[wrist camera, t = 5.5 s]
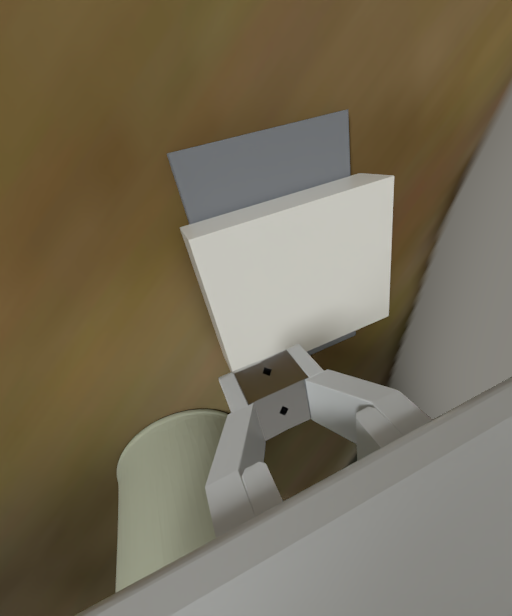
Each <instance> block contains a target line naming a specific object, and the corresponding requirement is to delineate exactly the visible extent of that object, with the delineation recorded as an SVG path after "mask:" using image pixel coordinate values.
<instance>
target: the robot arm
mask: <svg viewBox="0 0 512 616" xmlns="http://www.w3.org/2000/svg"><path fill="white" fill-rule="evenodd" d="M218 378H219V382H220V385H221V387H222V390H223V393H224V395H225V398H226V400H227V403H228V406H229V408H230V411H231V413H230V414H228V415H227V418H226V421H225V424H224V428H223V431H222V434H221V437H220V440H219V444H218V447H217V450H216V453H215V456H214V460H213V463H212V466H211V469H210V472H209V476H208V479H207V482H206V485H205V490H206V495H207V499H208V504H209V509H210V513H211V518H212V523H213V527H214V532H215V536H216V538H215V539H213V540H212V541H210V542H208V543H206V544H204V545H202V546H201V547H199V548H197V549H195V550H193V551H191V552H190V553H188V554H186V555H184V556H182V557H180V558H179V559H177V560H175V561H173V562H171V563H169V564H168V565H166V566H164V567H162V568H160V569H158V570H157V571H155V572H153V573H151V574H149V575H147V576H146V577H144V578H142V579H140V580H138V581H136V582H135V583H133V584H131V585H129V586H127V587H125V588H124V589H122V590H120V591H118V592H116V593H114V594H113V595H111V596H109V597H107V598H105V599H103V600H102V601H100V602H98V603H96V604H94V605H92V606H91V607H89V608H87V609H85V610H83V611H81V612H80V613H78V614H76V615H74V616H512V377H510V378H508V379H507V380H505V381H503V382H501V383H499V384H497V385H496V386H494V387H492V388H490V389H488V390H487V391H485V392H483V393H481V394H479V395H477V396H475V397H474V398H472V399H470V400H468V401H466V402H464V403H463V404H461V405H459V406H457V407H455V408H453V409H452V410H450V411H448V412H446V413H444V414H442V415H441V416H439V417H437V418H435V419H433V420H432V419H431V418H430V417H429V416H428V415H427V414H425V413H424V412H423V411H422V410H421V409H420V408H419V407H417V406H416V405H415V404H414V403H413V402H412V401H411V400H409V399H408V398H407V397H406V396H405V395H404V394H402V393H401V392H400V391H399V390H396V389H393V388H389V387H386V386H383V385H379V384H376V383H373V382H369V381H366V380H362V379H359V378H356V377H352V376H349V375H346V374H342V373H339V372H336V371H332V370H329V369H327V370H325V371H324V370H323V369H322V368H321V367H320V366H319V365H318V364H317V363H316V362H315V361H314V359H313V358H312V357H311V356H310V355H309V354H308V353H307V352H306V351H305V350H304V349H303V347H302V346H301V345H299V344H296V345H294V346H292V347H289V348H287V349H285V350H283V351H281V352H278V353H276V354H274V355H272V356H269V357H267V358H265V359H262V360H260V361H258V362H255V363H253V364H250V365H248V366H245V367H243V368H240V369H238V370H235V371H233V372H231V373H228V374H226V375H223V376H221V377H218ZM309 419H312V420H313V421H315V422H317V423H318V424H320V425H322V426H324V427H326V428H328V429H330V430H331V431H333V432H335V433H337V434H339V435H341V436H343V437H344V438H346V439H348V440H350V441H352V442H354V443H355V444H357V461H356V462H355V463H353V464H351V465H349V466H347V467H345V468H344V469H342V470H340V471H338V472H336V473H334V474H333V475H331V476H329V477H327V478H325V479H323V480H322V481H320V482H318V483H316V484H314V485H312V486H311V487H309V488H307V489H305V490H303V491H301V492H300V493H298V494H296V495H294V496H292V497H290V498H289V499H287V500H285V501H283V500H282V498H281V496H280V494H279V491H278V489H277V487H276V485H275V483H274V480H273V478H272V476H271V474H270V471H269V469H268V467H267V465H266V463H264V454H265V445H266V442H265V441H266V440H268V439H270V438H272V437H274V436H276V435H278V434H280V433H282V432H284V431H285V430H287V429H290V428H292V427H294V426H296V425H298V424H301V423H303V422H305V421H307V420H309Z"/></svg>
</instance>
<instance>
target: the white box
mask: <svg viewBox="0 0 512 616" xmlns="http://www.w3.org/2000/svg"><path fill="white" fill-rule="evenodd" d="M393 194H394V176H393V175H378V174H363V173H359V174H355V175H352V176H349V177H345V178H342V179H339V180H335V181H332V182H329V183H325V184H322V185H319V186H316V187H312V188H309V189H306V190H302V191H299V192H296V193H292V194H289V195H286V196H282V197H279V198H276V199H272V200H269V201H266V202H263V203H259V204H256V205H253V206H249V207H246V208H243V209H239V210H236V211H233V212H229V213H226V214H223V215H219V216H216V217H213V218H209V219H206V220H203V221H200V222H196V223H193V224H190V225H186V226H183V227H180V230H181V233H182V236H183V239H184V242H185V245H186V248H187V251H188V254H189V256H190V259H191V262H192V265H193V268H194V271H195V274H196V277H197V280H198V283H199V285H200V288H201V291H202V294H203V297H204V300H205V303H206V306H207V309H208V312H209V315H210V317H211V320H212V323H213V326H214V329H215V332H216V335H217V338H218V341H219V344H220V347H221V349H222V352H223V355H224V358H225V360H226V362H227V364H228V366H229V368H230V370H231V372H233V371H235V370H238V369H240V368H243V367H245V366H248V365H250V364H253V363H255V362H258V361H260V360H262V359H265V358H267V357H269V356H272V355H274V354H276V353H278V352H281V351H283V350H285V349H287V348H289V347H292V346H294V345H296V344H299V345H301V346H302V347H303V349H304V350H305V351H306V352H307V351H309V350H312V349H314V348H316V347H319V346H321V345H323V344H326V343H328V342H330V341H332V340H335V339H337V338H339V337H342V336H344V335H346V334H349V333H351V332H353V331H355V330H358V329H360V328H362V327H365V326H367V325H369V324H372V323H374V322H376V321H378V320H381V319H383V318H385V317H388V316H389V296H390V270H391V245H392V219H393Z"/></svg>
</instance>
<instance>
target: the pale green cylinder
mask: <svg viewBox="0 0 512 616" xmlns="http://www.w3.org/2000/svg"><path fill="white" fill-rule="evenodd" d="M227 415H228V414H227V413H224V412H221V411H217V410H211V409H195V410H187V411H182V412H179V413H175V414H172V415H169V416H167V417H164V418H162V419H160V420H158V421H156V422H154V423H152V424H151V425H149V426H148V427H146V428H145V429H143V430H142V431H141V432H140V433H138V434H137V435H136V436H135V437H134V438H133V439H132V440H131V441H130V442H129V444H128V445H127V446H126V448H125V449H124V451H123V452H122V454H121V456H120V459H119V462H118V466H117V480H118V484H119V503H118V539H117V565H116V592H118V591H120V590H122V589H124V588H125V587H127V586H129V585H131V584H133V583H135V582H136V581H138V580H140V579H142V578H144V577H146V576H147V575H149V574H151V573H153V572H155V571H157V570H158V569H160V568H162V567H164V566H166V565H168V564H169V563H171V562H173V561H175V560H177V559H179V558H180V557H182V556H184V555H186V554H188V553H190V552H191V551H193V550H195V549H197V548H199V547H201V546H202V545H204V544H206V543H208V542H210V541H212V540H213V539H215V538H216V536H215V532H214V527H213V523H212V518H211V513H210V509H209V504H208V499H207V495H206V490H205V485H206V482H207V479H208V476H209V472H210V469H211V466H212V463H213V460H214V456H215V453H216V450H217V447H218V444H219V440H220V437H221V434H222V431H223V428H224V424H225V421H226V418H227ZM116 592H115V593H116Z"/></svg>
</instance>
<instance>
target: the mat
mask: <svg viewBox="0 0 512 616" xmlns="http://www.w3.org/2000/svg"><path fill="white" fill-rule="evenodd" d="M167 156H168V159H169V162H170V166H171V169H172V172H173V175H174V178H175V181H176V184H177V187H178V190H179V193H180V196H181V199H182V203H183V206H184V209H185V212H186V215H187V218H188V221H189V224H193V223H196V222H200V221H203V220H206V219H209V218H213V217H216V216H219V215H223V214H226V213H229V212H233V211H236V210H239V209H243V208H246V207H249V206H253V205H256V204H259V203H263V202H266V201H269V200H272V199H276V198H279V197H282V196H286V195H289V194H292V193H296V192H299V191H302V190H306V189H309V188H312V187H316V186H319V185H322V184H325V183H329V182H332V181H335V180H339V179H342V178H345V177H349V176H350V150H349V120H348V110H343V111H339V112H335V113H331V114H327V115H323V116H319V117H315V118H311V119H306V120H302V121H298V122H294V123H290V124H286V125H282V126H278V127H274V128H270V129H266V130H262V131H257V132H253V133H249V134H245V135H241V136H237V137H233V138H229V139H225V140H221V141H217V142H213V143H208V144H204V145H200V146H196V147H192V148H188V149H184V150H180V151H176V152H172V153H168V154H167ZM355 335H356V330H355V331H353V332H351V333H349V334H346V335H344V336H342V337H339V338H337V339H335V340H332V341H330V342H328V343H326V344H323V345H321V346H319V347H316V348H314V349H312V350H309V351H307V353H308V354H309V355H311V354H314V353H316V352H318V351H320V350H323V349H325V348H327V347H330V346H332V345H334V344H336V343H339V342H341V341H343V340H346V339H348V338H350V337H352V336H355Z"/></svg>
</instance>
